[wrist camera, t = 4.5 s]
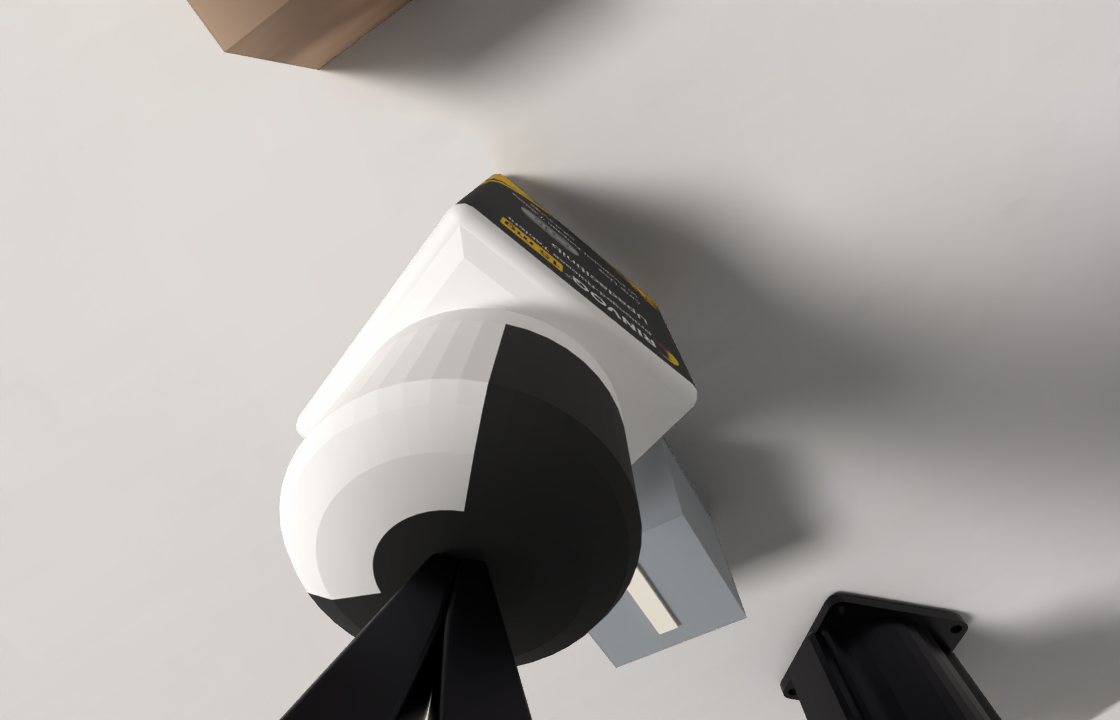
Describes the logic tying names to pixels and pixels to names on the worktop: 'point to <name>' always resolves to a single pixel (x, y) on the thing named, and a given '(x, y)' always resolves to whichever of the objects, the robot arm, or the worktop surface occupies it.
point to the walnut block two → (292, 26)
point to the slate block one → (669, 569)
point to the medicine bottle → (488, 428)
